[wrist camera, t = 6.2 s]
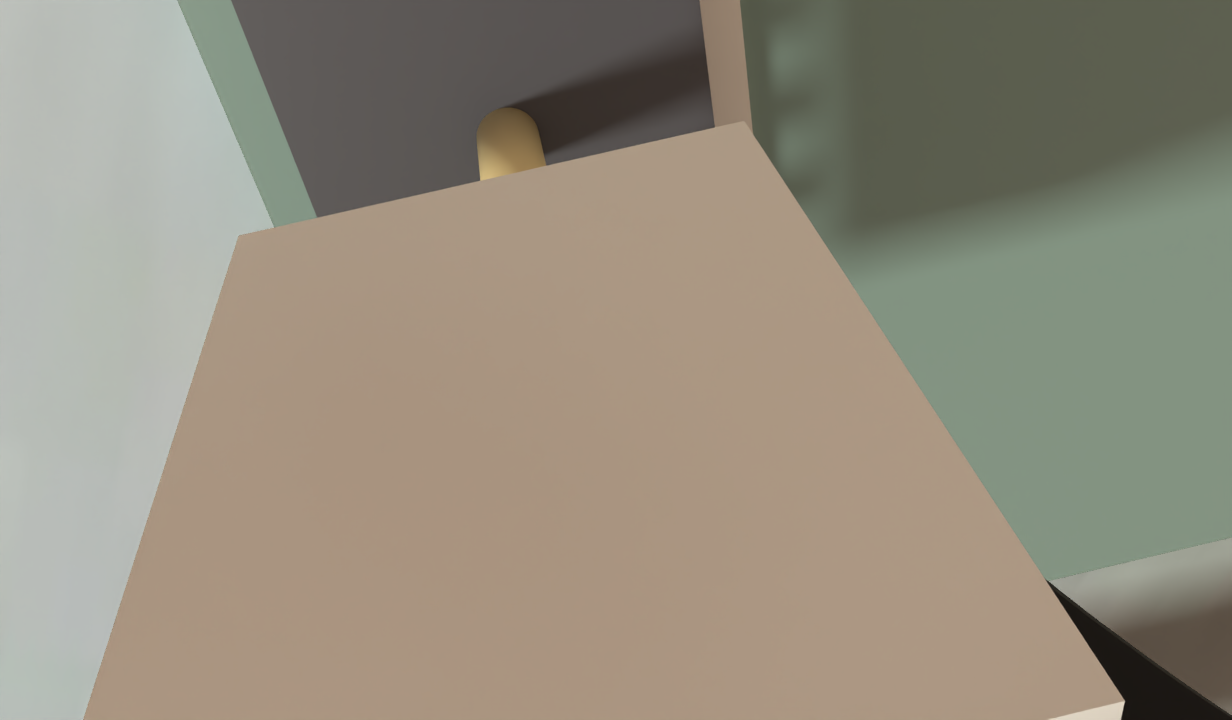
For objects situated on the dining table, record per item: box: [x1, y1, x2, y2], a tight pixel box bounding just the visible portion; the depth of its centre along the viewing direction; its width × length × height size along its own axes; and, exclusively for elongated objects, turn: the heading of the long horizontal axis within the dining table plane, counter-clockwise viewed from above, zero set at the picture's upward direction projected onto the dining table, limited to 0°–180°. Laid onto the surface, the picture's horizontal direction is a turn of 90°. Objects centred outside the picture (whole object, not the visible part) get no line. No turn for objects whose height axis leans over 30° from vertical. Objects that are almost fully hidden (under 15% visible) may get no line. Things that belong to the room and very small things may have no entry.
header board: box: [177, 0, 1232, 581], centre depth 18 cm, size 18×20×5 cm
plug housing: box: [83, 121, 1125, 720], centre depth 8 cm, size 7×4×6 cm, turn 10°
